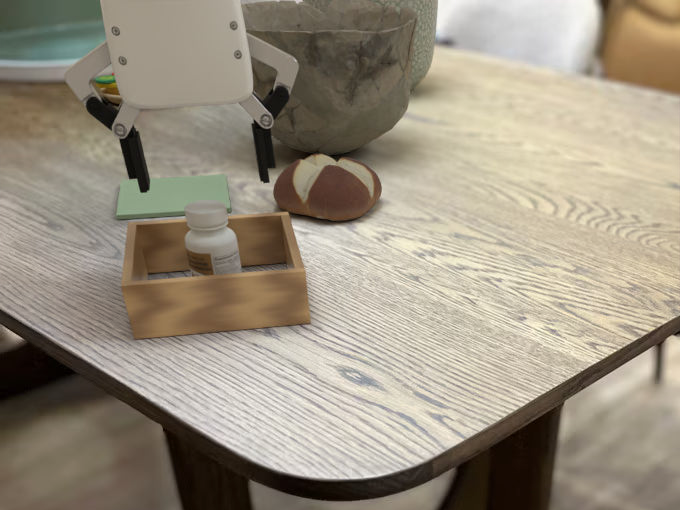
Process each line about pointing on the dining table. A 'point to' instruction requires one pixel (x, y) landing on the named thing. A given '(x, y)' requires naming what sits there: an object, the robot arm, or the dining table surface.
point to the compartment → (213, 280)
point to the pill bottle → (210, 240)
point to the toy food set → (109, 88)
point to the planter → (424, 42)
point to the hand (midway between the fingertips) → (205, 182)
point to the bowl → (336, 70)
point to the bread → (327, 188)
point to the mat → (169, 195)
